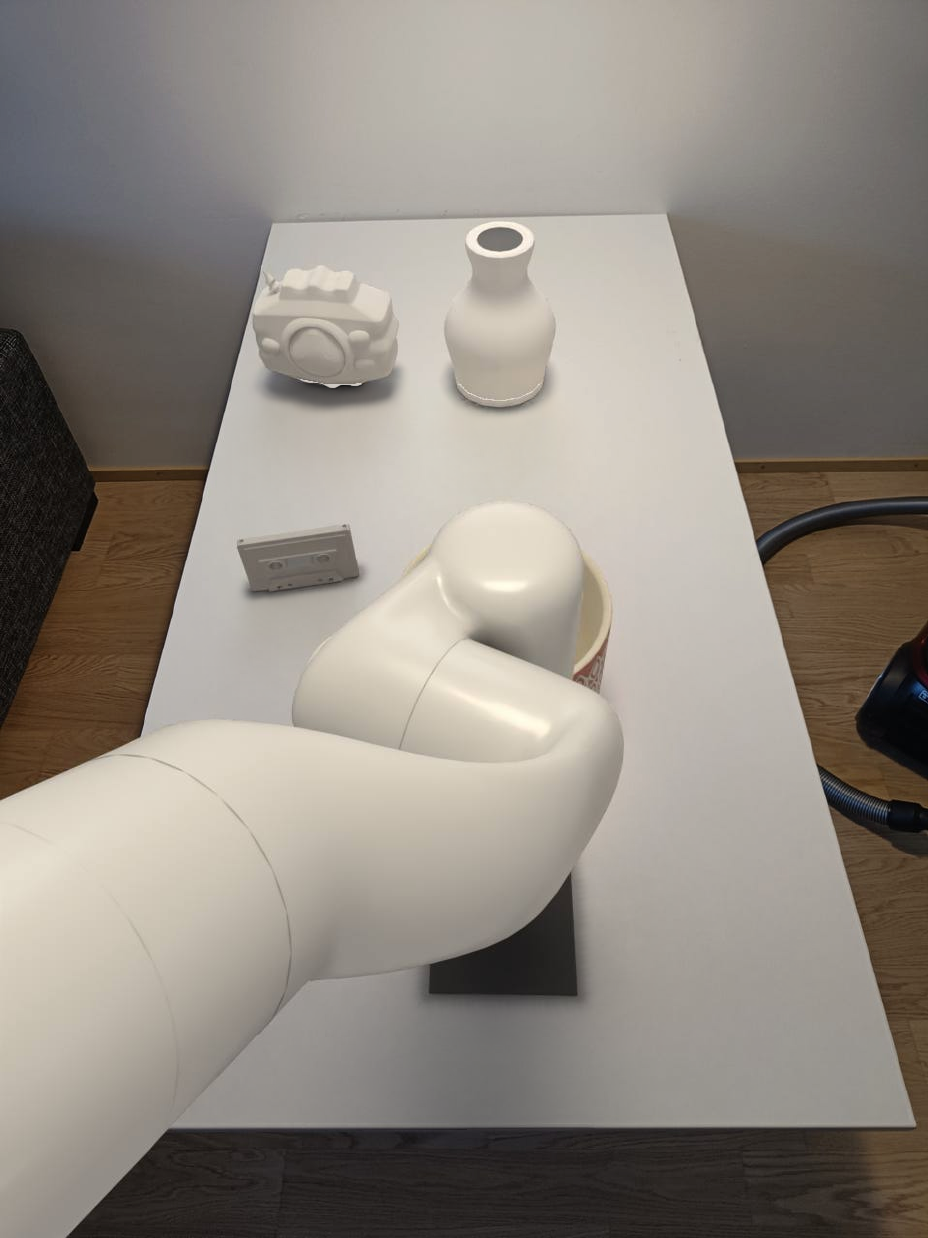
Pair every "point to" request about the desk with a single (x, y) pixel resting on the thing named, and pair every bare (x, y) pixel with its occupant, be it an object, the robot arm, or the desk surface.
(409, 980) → the desk surface
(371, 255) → the desk surface
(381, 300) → the camera
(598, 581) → the planter
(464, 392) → the vase
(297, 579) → the cassette
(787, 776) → the desk surface
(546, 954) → the black mat
